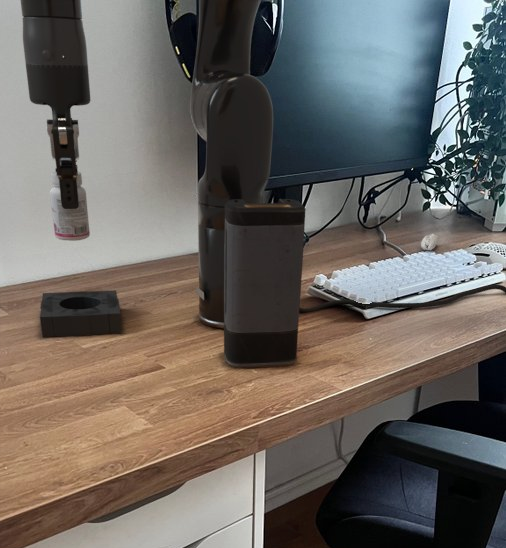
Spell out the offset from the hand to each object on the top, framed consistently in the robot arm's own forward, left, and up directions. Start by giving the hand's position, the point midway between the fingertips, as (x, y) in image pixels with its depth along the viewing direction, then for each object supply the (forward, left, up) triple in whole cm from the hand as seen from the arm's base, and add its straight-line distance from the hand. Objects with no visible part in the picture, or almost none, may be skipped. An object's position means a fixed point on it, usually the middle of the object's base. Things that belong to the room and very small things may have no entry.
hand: (70, 203), depth 94 cm
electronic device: (-23, +18, -17) cm, 34 cm away
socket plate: (0, 0, -17) cm, 17 cm away
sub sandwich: (-73, -36, -17) cm, 83 cm away
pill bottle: (0, 0, -5) cm, 5 cm away
